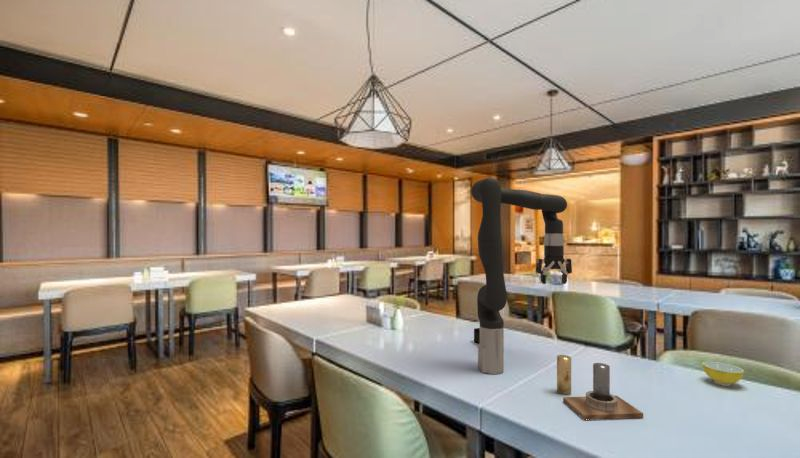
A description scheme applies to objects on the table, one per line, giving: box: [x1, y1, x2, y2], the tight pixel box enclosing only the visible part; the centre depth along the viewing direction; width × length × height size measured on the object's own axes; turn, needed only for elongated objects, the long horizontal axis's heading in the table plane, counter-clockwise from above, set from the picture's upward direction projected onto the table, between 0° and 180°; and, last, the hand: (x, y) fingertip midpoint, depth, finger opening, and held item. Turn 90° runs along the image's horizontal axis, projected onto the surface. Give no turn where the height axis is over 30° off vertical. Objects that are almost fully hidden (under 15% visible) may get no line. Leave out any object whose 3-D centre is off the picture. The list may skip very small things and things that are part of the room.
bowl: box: [701, 361, 745, 387], centre depth 137 cm, size 11×12×6 cm
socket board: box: [562, 390, 644, 421], centre depth 116 cm, size 18×12×4 cm, turn 95°
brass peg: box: [556, 354, 572, 396], centre depth 129 cm, size 4×4×12 cm
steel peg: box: [592, 362, 611, 401], centre depth 116 cm, size 4×4×12 cm
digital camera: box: [473, 327, 480, 345], centre depth 183 cm, size 10×5×7 cm, turn 29°
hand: (553, 283), depth 157 cm, fingers open, 8 cm apart
